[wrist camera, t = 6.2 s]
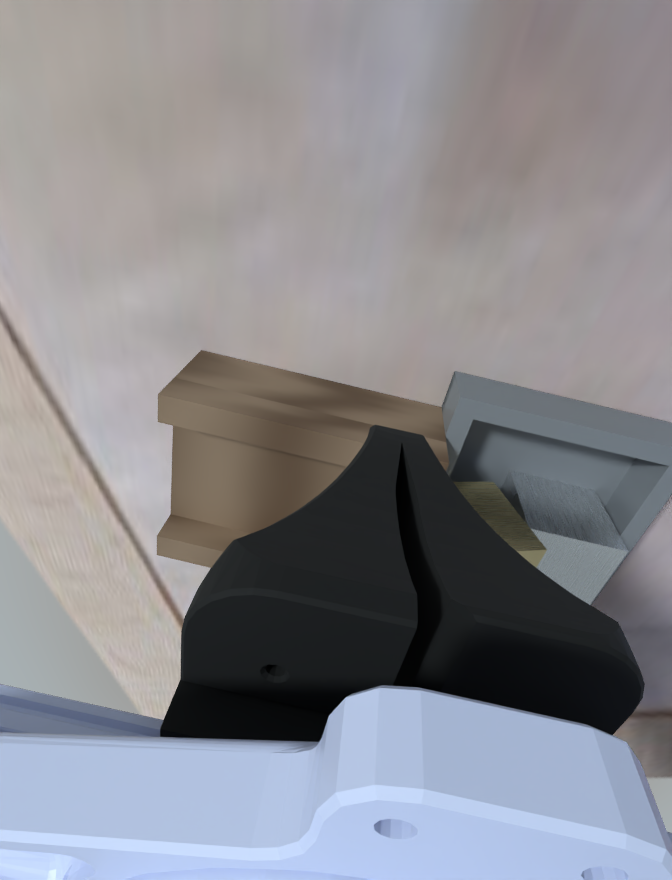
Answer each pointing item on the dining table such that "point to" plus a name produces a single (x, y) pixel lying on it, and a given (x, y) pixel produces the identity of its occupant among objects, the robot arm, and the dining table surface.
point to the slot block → (264, 446)
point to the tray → (560, 447)
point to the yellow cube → (503, 518)
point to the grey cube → (568, 532)
